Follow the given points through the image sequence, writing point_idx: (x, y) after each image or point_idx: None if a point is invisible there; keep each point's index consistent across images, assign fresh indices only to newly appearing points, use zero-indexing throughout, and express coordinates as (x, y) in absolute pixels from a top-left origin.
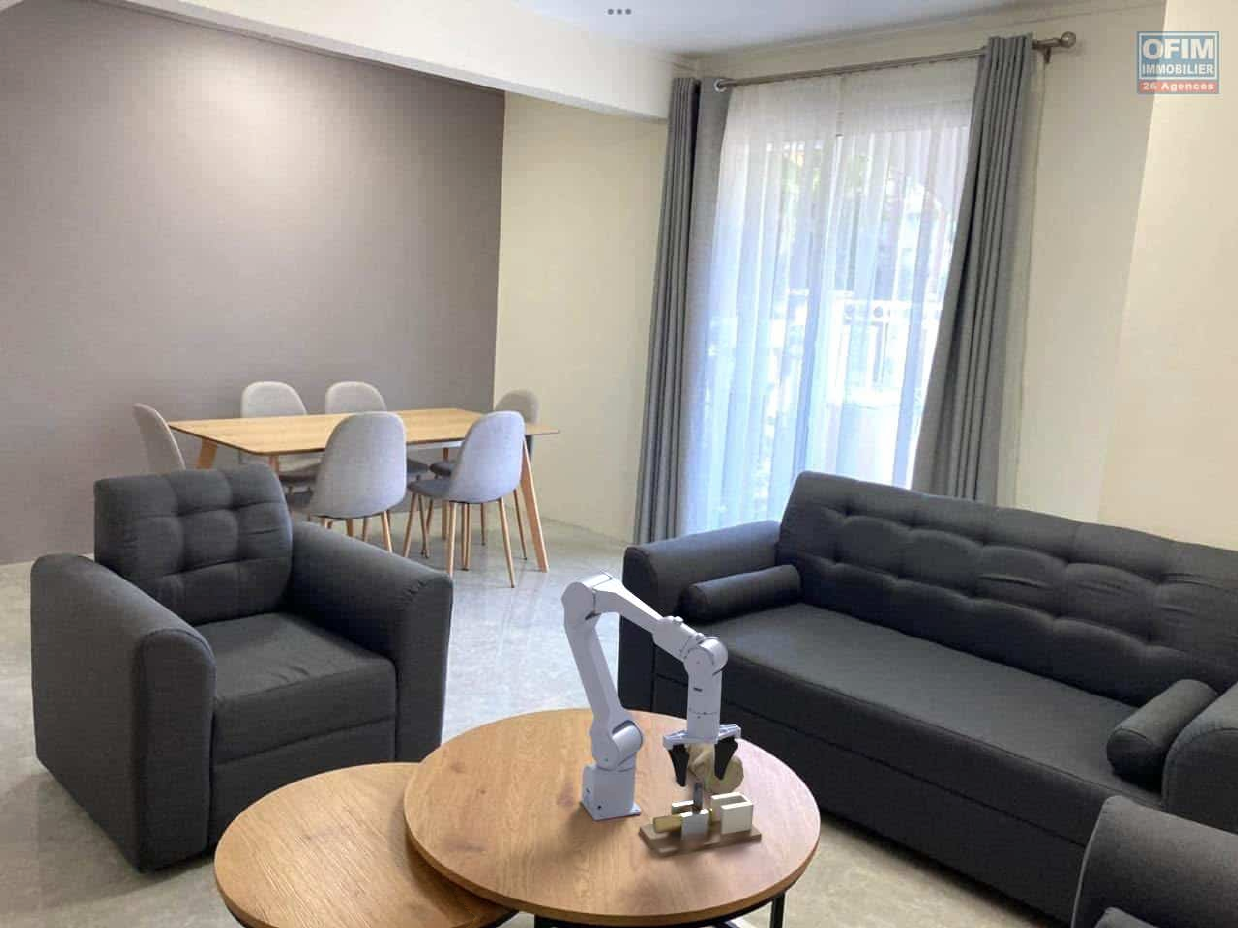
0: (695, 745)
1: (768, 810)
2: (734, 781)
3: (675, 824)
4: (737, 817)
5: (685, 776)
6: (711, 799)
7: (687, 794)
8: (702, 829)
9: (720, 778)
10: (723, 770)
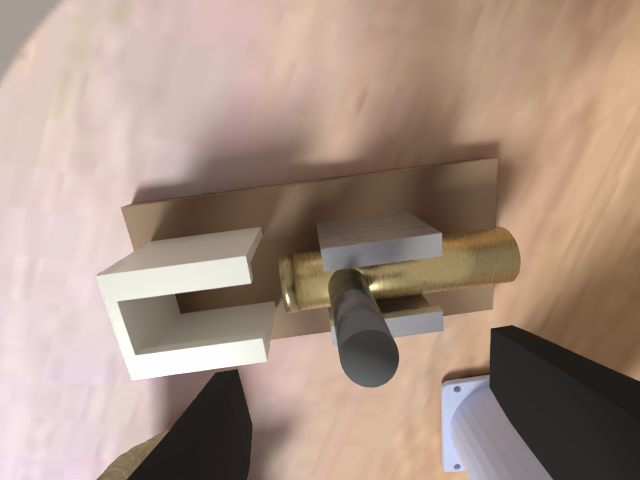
0: None
1: (66, 352)
2: (134, 465)
3: (443, 239)
4: (191, 249)
5: (561, 363)
6: (267, 348)
7: (283, 448)
8: (336, 227)
9: (233, 375)
10: (199, 419)
